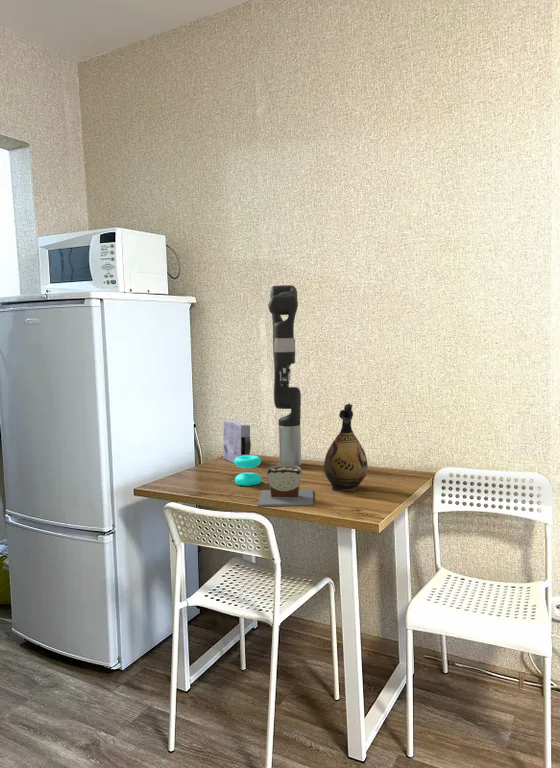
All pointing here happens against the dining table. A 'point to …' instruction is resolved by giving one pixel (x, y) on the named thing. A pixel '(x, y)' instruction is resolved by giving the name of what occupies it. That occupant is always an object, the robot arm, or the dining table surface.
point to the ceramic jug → (345, 457)
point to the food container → (284, 481)
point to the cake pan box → (235, 440)
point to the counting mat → (286, 499)
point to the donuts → (247, 478)
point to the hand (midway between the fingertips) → (285, 395)
